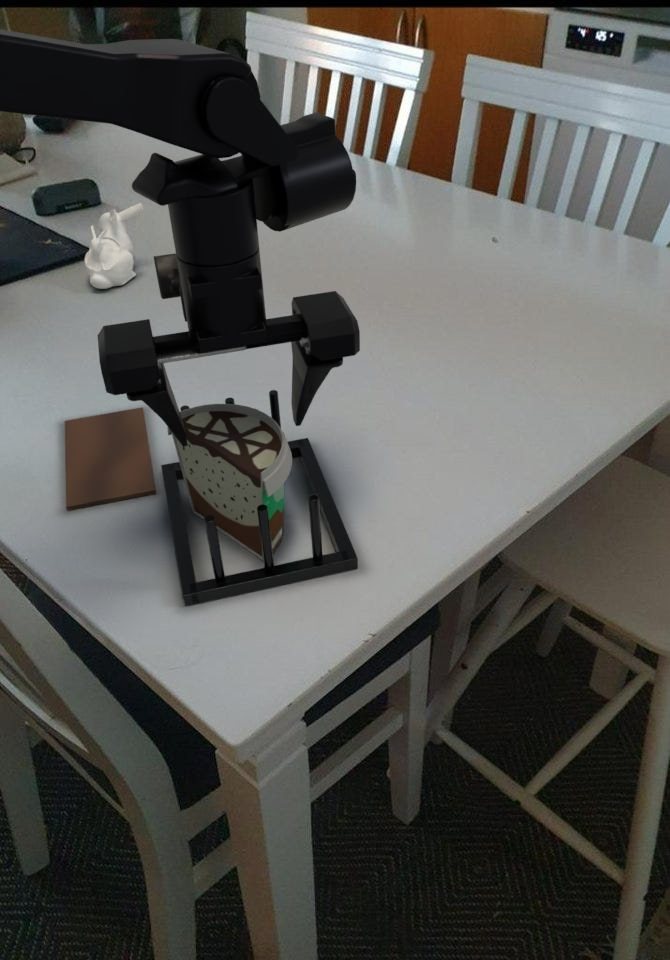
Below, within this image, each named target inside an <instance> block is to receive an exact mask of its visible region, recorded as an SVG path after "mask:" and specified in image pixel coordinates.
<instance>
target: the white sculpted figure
mask: <svg viewBox="0 0 670 960" xmlns="http://www.w3.org/2000/svg"><path fill="white" fill-rule="evenodd" d="M143 208H144V207H143V203H141V202H138V203H137V204H134V205H132V206H130V207H128V208H126V209H124V210H122V211H120V212H117V210H116V209H115V208H112V209H110V210H109V212H108V211H107V212H104V213H103V214H102V215H101V216H100V218H99V220H98V231H99V232H101V233H100V234H99V235H98V237H97V235H96V232H95V226H94V225H91V226H90V232H91V235H92V238H91V241H90V242H89V243H90V245H89V248H88V249H89V250H88V251H87V252H86V253H85V255H84V266H85V268H86V272H87V274H88V277H89V283H90V285H91V286H92V287H94V288H95V289H99V290H107V289H110V288H112V287H119V286H124V285H125V284H126V283H128V282H130V280H131V279H133V278H135V277H136V276H137V273H136V272H135V271H134V270H133V269H134V262H135V261H134V256H133V243H132V240H131V238H130V236H129V234H128V232H127V225H126V222H125V221H128V220H133V219H135V218H139V217H141V216H142V215H143V213H144V209H143Z"/></svg>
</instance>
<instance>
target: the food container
mask: <svg viewBox="0 0 670 960" xmlns="http://www.w3.org/2000/svg"><path fill="white" fill-rule="evenodd" d="M179 411H180V414H181V417H182V420H183V424H184V428H185V433H186V438H187V444H188V446H184V447H183V446H182V445H181V443H180V442H179V441H178V439H177V438H176V437H175V435H174V434H173V433H172V431H171V430H170V429H169V428H168V427H167V435H168V436H171V435H172V440H173V443H174V447H175V450H176V451H175V452H176V454H177V459H178V462H180V466H181V470H182V474H183V477H184V479H183V481H184V485H185V489H186V492H187V497H188V499H189V503H190V508H191V511H192V514H193V515H195V516H196V517H198V518H200V519H201V520H202V521H204V518H205V517H206V516H207V515H213V516H214V517H215V522H216V527H217V531H219V532H220V533H221V534H223V535H225V536H226V537H227V538H228V539H230V540H232V541H233V542H235V543H236V544H237V545H239V546H240V547H242V548H243V549H245V550H246V551H248V552H249V553H251V554H252V555H253V556H255V557H256V558H257V559H259V560H260V561H262V562H264V560H263V553H262V545H261V537H260V529H259V521H258V513H257V507H258V506H259V505H262V504H264V505H266V506H267V507H268V516H269V525H270V533H271V542H272V550H273V555H274V554H275V553H276V551H277V550H278V548H279V546H280V545H281V543H282V541H283V535H284V524H285V523H284V522H285V521H284V520H285V518H284V517H285V516H284V515H285V512H284V511H285V483H286V482H285V481H286V480H287V479H288V477H289V475H290V473H291V470H292V467H293V458H292V453H291V450H290V448H289V445H288V439H287V437H286V434H285V432H284V431H283V429H282V427H281V428H280V427H279V425H278V424H277V422H276V421H274V420H273V419H272V418H271V415H268V414H267V413H265V412H263V411H261V410H260V409H257V408H253V407H250V406H247V405H242V404H225V403H211V404H202V405H197V406H193V407H189V409H186V410H183V411H181V410H179Z"/></svg>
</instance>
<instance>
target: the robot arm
mask: <svg viewBox="0 0 670 960" xmlns="http://www.w3.org/2000/svg"><path fill="white" fill-rule="evenodd" d="M0 112H3V113H13V114H21V115H29V116H40V117H47V118H48V117H49V118H57V119H67V120H75V121H83V122H94V123H101V124H109V125H114V126H117V127H119V128H123V129H126V130H129V131H132V132H135V133H138V134H140V135H144V136H145V137H146V136H147V137H150V138H152V139H155V140H158V141H161V142H164V143H166V144H169V145H172V146H175V147H180V148H181V149H185V150H188V151H191V152H194V153H197V154H198V155H195V156H191V157H187V158H184V159H181V160H177V161H174V160H173V159H171V158H169V157H166V156H165V155H162V154H160V153H159V152H158V153H157V152H153V153H152V154H151V155H150V158H149V160H148V162H147V164H146V166H145V167H144V168H143V169H142V170H141V171H140V172H139V173H138V174H137V176H136V177H135V178H134V180H133V181H132V182H131V189H132V191H133V192H135V193H137V194H138V195H140V196H142V197H144V198H145V199H147V200H149V201H151V202H153V203H155V204H157V205H159V206H161V207H162V206H163V207H164V206H168V207H167V208H168V214H169V220H170V227H171V231H172V238H173V244H174V251H175V253H169V254H168V253H167V254H162V255H161V254H160V255H155V256H153V262H154V268H155V274H156V278H157V283H158V289H159V294H160V298H161V299H162V300H167V299H173V298H180V302H181V307H182V308H181V309H182V314H183V315H182V316H183V318H184V322H185V323H187V330H188V331H180V332H175V333H169V334H167V333H166V334H161V335H156V336H155V335H154V334H153V330H152V326H151V325H152V324H151V321H150V318H147V319H141V320H133V321H128V322H127V321H126V322H121V323H115V324H108V325H103V326H102V327H101V329H100V331H99V333H98V334H97V346H98V347H97V348H98V360H99V366H100V372H101V376H102V380H103V384H104V388H105V392H106V393H107V394H109V395H113V396H119V395H126V399H127V400H128V401H130V402H137V401H138V402H139V401H142V402H143V403H144V404H145V405H146V406H147V407H148V408H150V410H152V411H153V412H154V413H155V414H156V415H157V416H158V417H159V418H160V419H161V420H162V421H163V423H164V424H165V425H166V426H167V429H168V428H169V429H170V430H171V431H172V433H173V434H174V435H175V437H176V438H177V439H178V441H179V442H180V443H181V445H182V446H183V447H184V446H188V444H187V438H186V433H185V428H184V424H183V420H182V417H181V414H180V411H181V410H180V409H179V406H178V403H177V400H176V397H175V394H174V391H173V388H172V386H171V385H172V384H171V382H170V380H169V377H168V374H167V371H166V366H165V364H168V363H174V362H181V361H187V360H193V359H198V358H204V357H211V356H217V355H222V354H230V353H235V352H243V351H246V350H250V349H257V348H263V347H269V346H275V345H281V344H287V343H290V344H291V345H290V346H291V353H292V366H291V368H292V369H291V370H292V371H291V373H292V374H291V401H290V402H291V413H292V420H293V423H294V425H295V426H296V427H300V426H301V425H302V423H303V422H304V419H305V417H306V415H307V413H308V410H309V408H310V406H311V404H312V402H313V400H314V398H315V396H316V394H317V392H318V390H319V389H320V388H321V385H322V384H323V383H324V381H325V380H326V378H327V377H328V374H329V373H330V372H331V370H332V369H334V368H339V367H341V366H342V365H343V364H344V358H346V357H348V358H349V357H353V356H356V355H357V354H358V353H359V352H360V351H361V337H360V336H361V335H360V334H361V331H360V326H359V323H358V320H357V318H356V316H355V315H354V313H353V311H352V309H351V308H350V306H349V304H348V303H347V301H346V299H345V298H344V297H343V296H342V295H341V294H339V292H337V291H336V290H333V291H326V292H320V293H312V294H307V295H306V294H305V295H299V296H293V297H292V300H291V314H290V315H284V316H283V315H282V316H278V317H271V318H267V314H266V303H265V293H264V283H263V274H262V263H261V262H262V261H261V251H260V241H259V231H258V221H259V222H262V223H263V225H265V226H266V227H268V228H269V229H270V230H272V231H274V232H283V231H286V230H290V229H292V228H296V227H299V226H300V225H301V226H302V225H303V224H307V223H309V222H313V221H315V220H319V219H321V218H324V217H327V216H330V215H333V214H336V213H338V212H339V213H340V212H342V211H344V210H347V209H348V208H349V207H350V206H351V205H352V203H353V201H354V199H355V196H356V191H357V173H356V171H355V169H354V167H353V165H352V161H351V157H350V155H349V152H348V150H347V149H346V147H345V145H344V143H343V142H342V141H341V140H340V138H339V137H338V136H337V135H336V119H334V118H333V117H331V116H328V115H325V114H322V113H319V112H313V113H309V114H306V115H303V116H301V117H300V118H297V119H296V120H294V121H290V122H287V123H283V124H280V123H279V122H278V120H277V119H276V117H274V115H273V114H272V113H271V111H270V110H269V108H267V106H266V105H265V103H264V102H263V101H262V99H261V93H260V89H259V84H258V80H257V79H256V77H255V75H254V72H253V71H252V66H251V64H249V63H248V62H247V61H246V60H244V59H243V58H241V57H239V56H236V55H235V54H231V53H228V52H225V51H221V50H218V49H214V48H211V47H207V46H204V45H200V44H197V43H193V42H191V41H190V42H189V41H186V40H182V39H179V38H158V39H157V38H156V39H155V38H154V39H151V38H150V39H128V40H122V41H117V42H110V43H91V44H90V43H89V44H87V43H80V42H74V41H69V40H64V39H58V38H52V37H46V36H41V35H35V34H30V33H23V32H18V31H14V30H8V29H1V28H0ZM238 154H240V155H239V156H236V155H238ZM234 156H235V157H234ZM226 158H228V159H226ZM221 159H224V160H221ZM153 335H154V336H153Z"/></svg>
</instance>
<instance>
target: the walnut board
mask: <svg viewBox="0 0 670 960" xmlns="http://www.w3.org/2000/svg"><path fill="white" fill-rule="evenodd" d="M145 417H146V416H145V410H144V407H137V408H130V409H125V410H119V411H114V412H108V413H102V414H96V415H92V416H91V415H90V416H84V417H79V418H71V419H67V420H64V456H65V457H64V461H65V508H66V510H67V511H72V510H77V509H82V508H87V507H88V508H89V507H93V506H97V505H99V506H100V505H103V504H109V503H114V502H119V501H124V500H129V499H134V498H140V497H145V496H151V495H155V494H157V489H156V483H155V477H154V469H153V462H152V455H151V450H150V443H149V437H148V430H147V425H146V418H145Z"/></svg>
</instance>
